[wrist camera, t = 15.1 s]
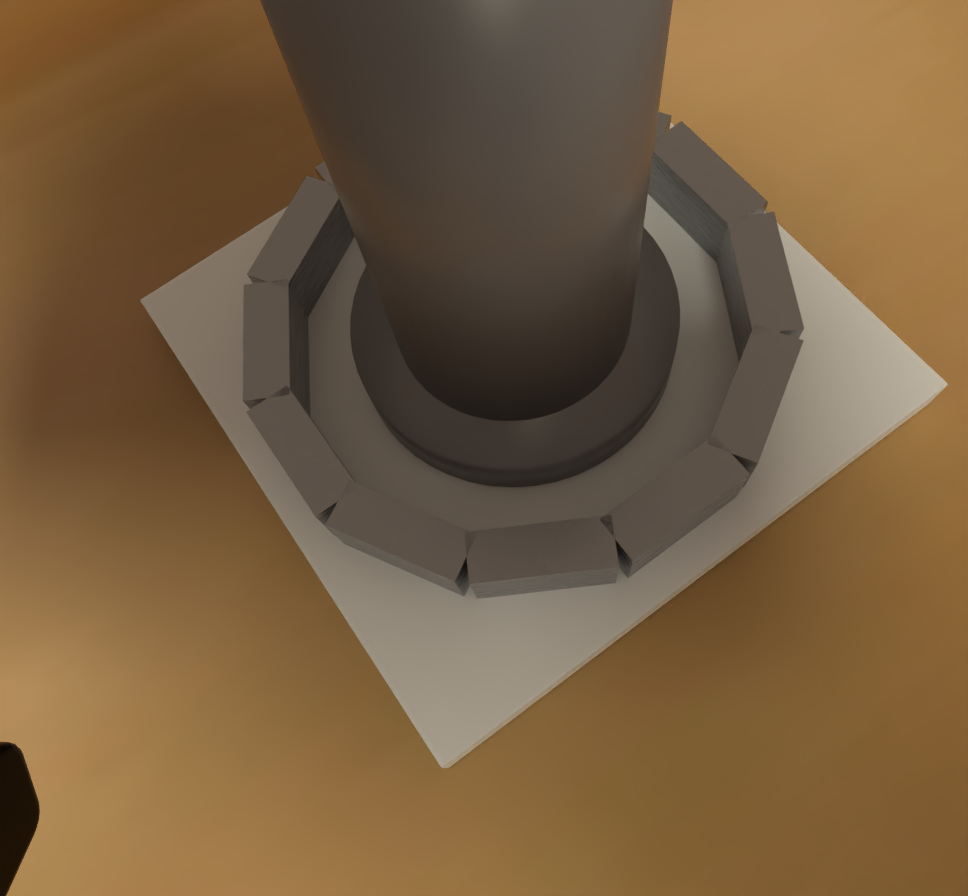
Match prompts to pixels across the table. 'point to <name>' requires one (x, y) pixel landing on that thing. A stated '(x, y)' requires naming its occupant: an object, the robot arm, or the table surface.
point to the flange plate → (553, 506)
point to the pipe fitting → (496, 219)
